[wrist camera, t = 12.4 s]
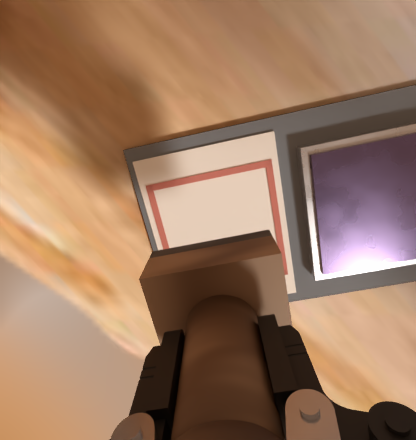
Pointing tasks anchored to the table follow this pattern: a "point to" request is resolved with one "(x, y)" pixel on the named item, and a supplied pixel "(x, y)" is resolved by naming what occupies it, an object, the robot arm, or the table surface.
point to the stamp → (220, 332)
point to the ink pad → (360, 201)
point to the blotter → (258, 184)
